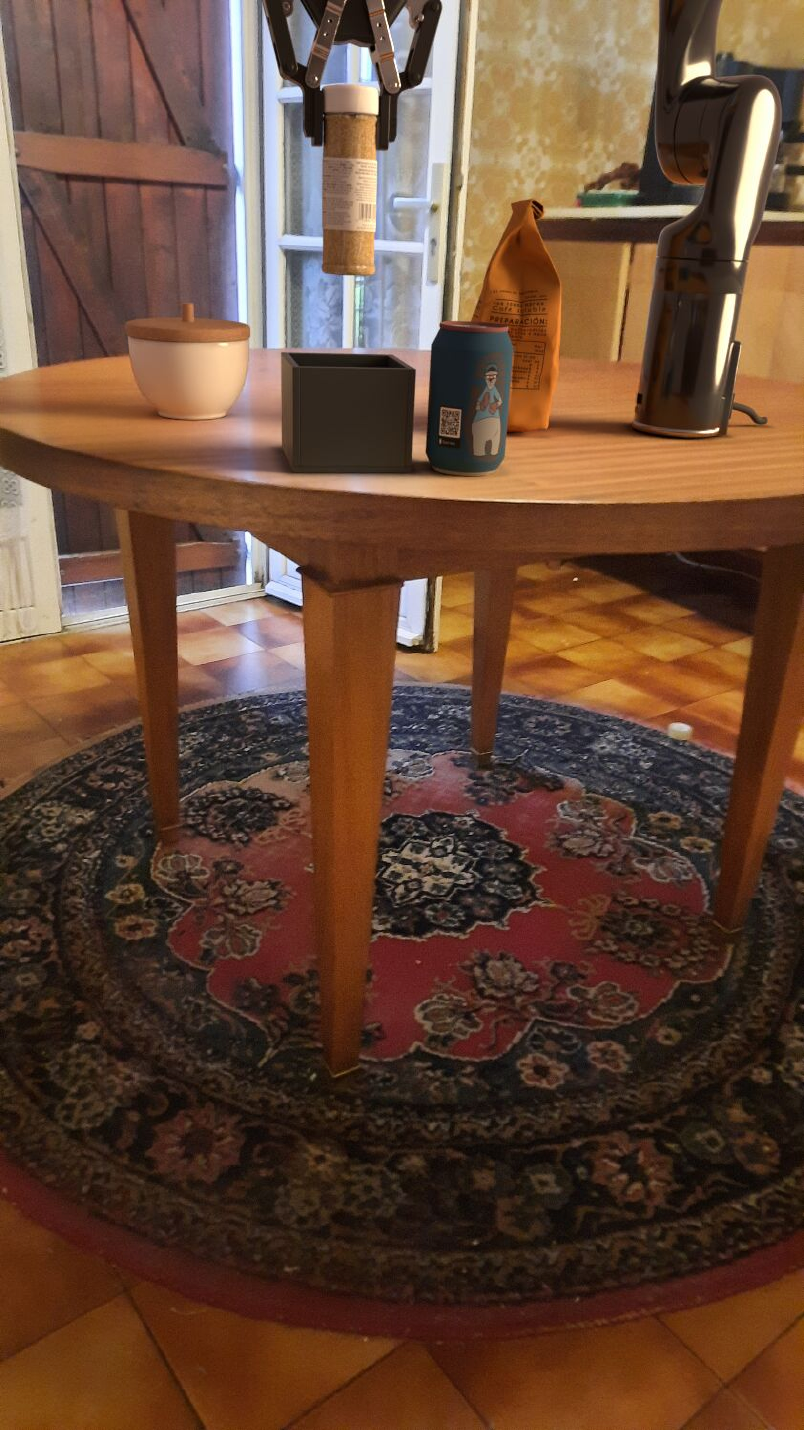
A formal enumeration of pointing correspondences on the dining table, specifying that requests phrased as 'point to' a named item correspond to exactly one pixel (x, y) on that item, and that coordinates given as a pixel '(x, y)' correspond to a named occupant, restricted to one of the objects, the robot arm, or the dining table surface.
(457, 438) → the soda can
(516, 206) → the coffee package
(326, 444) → the storage bin
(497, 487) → the dining table surface
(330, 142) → the sprinkles bottle
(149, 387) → the lidded bowl
